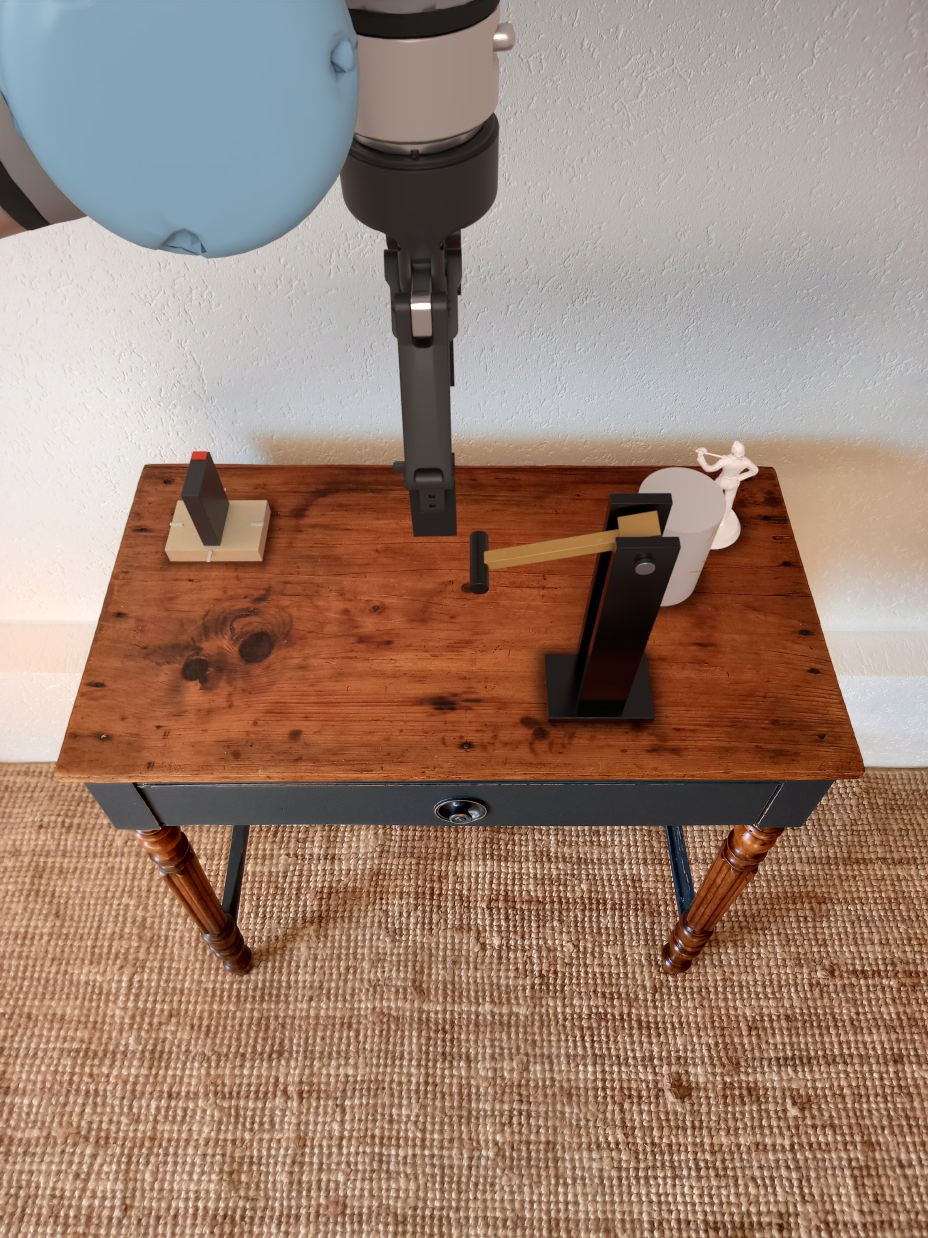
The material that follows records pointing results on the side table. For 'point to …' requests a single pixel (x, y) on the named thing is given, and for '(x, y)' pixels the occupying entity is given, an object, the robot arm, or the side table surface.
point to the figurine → (728, 488)
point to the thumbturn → (205, 498)
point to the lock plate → (238, 538)
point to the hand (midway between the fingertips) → (435, 452)
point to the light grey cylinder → (688, 523)
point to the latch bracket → (616, 625)
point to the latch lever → (552, 548)
